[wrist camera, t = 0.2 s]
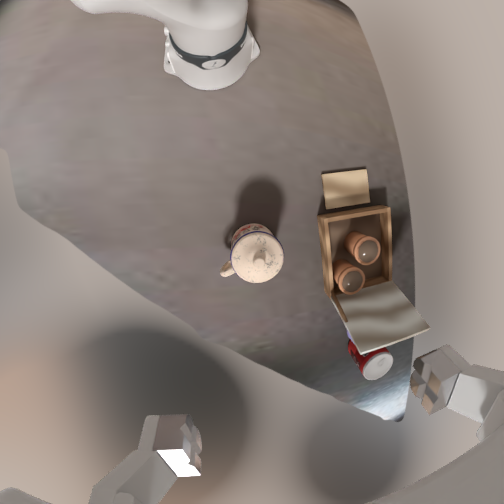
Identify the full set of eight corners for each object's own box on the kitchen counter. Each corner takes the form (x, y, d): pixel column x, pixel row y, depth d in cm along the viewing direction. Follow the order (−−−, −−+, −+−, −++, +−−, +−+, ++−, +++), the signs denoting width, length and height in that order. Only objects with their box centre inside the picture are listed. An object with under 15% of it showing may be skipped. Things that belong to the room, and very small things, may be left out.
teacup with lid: (260, 212, 54) (269, 224, 43) (284, 250, 57) (297, 270, 46) (208, 246, 55) (204, 265, 44) (233, 281, 58) (235, 308, 47)
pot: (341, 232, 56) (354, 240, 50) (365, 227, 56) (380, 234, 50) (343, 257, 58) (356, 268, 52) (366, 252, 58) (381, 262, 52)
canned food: (378, 329, 65) (398, 353, 55) (366, 354, 67) (384, 380, 57) (354, 327, 64) (372, 352, 54) (342, 353, 66) (358, 380, 56)
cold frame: (317, 215, 55) (359, 239, 37) (380, 204, 56) (438, 223, 37) (325, 304, 61) (360, 355, 43) (383, 289, 62) (429, 330, 43)
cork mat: (321, 174, 53) (322, 174, 53) (365, 169, 53) (366, 169, 53) (325, 208, 55) (326, 209, 55) (368, 202, 55) (370, 202, 55)
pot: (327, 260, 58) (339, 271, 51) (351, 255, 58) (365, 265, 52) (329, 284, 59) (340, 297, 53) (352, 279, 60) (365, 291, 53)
